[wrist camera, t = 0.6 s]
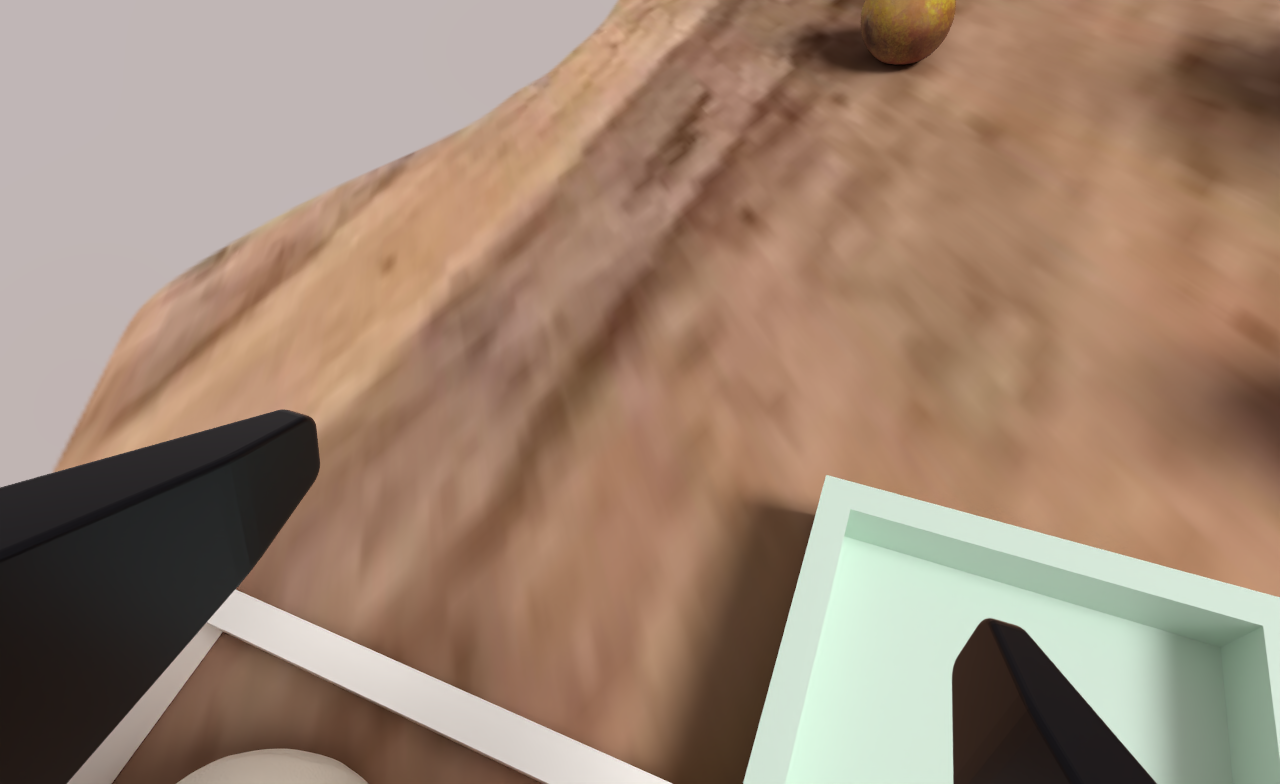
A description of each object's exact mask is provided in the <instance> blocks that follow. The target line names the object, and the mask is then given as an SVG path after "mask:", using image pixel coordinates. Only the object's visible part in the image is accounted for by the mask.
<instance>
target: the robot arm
mask: <svg viewBox="0 0 1280 784" xmlns="http://www.w3.org/2000/svg"><path fill="white" fill-rule="evenodd" d="M319 468H320V458H319V448H318V439H317V430H316V424H315V422H314V420H313V419H312V418H311V417H309V416H307V415H304V414H300V413H297V412H293V411H290V410H278V411H274V412H270V413H267V414H263V415H260V416H256V417H252V418H249V419H245V420H242V421H238V422H234V423H231V424H227V425H224V426H220V427H216V428H213V429H209V430H206V431H202V432H198V433H195V434H191V435H188V436H184V437H180V438H177V439H173V440H170V441H166V442H162V443H159V444H155V445H152V446H148V447H145V448H141V449H137V450H134V451H130V452H127V453H123V454H119V455H116V456H112V457H109V458H105V459H101V460H98V461H94V462H91V463H87V464H83V465H80V466H76V467H73V468H69V469H65V470H62V471H58V472H55V473H51V474H47V475H44V476H40V477H37V478H34V479H30V480H26V481H22V482H19V483H15V484H12V485H8V486H4V487H1V488H0V784H67V783H68V782H69V781H70V780H71V778H72V777H73V776H74V775H75V774H76V773H77V772H78V770H79V769H80V768H81V767H82V766H83V765H84V763H85V762H86V761H87V760H88V759H89V758H90V757H91V755H92V754H93V753H94V752H95V751H96V750H97V748H98V747H99V746H100V745H101V744H102V743H103V742H104V740H105V739H106V738H107V737H108V736H109V735H110V733H111V732H112V731H113V730H114V729H115V728H116V727H117V725H118V724H119V723H120V722H121V721H122V720H123V718H124V717H125V716H126V715H127V714H128V713H129V712H130V710H131V709H132V708H133V707H134V706H135V705H136V703H137V702H138V701H139V700H140V699H141V698H142V697H143V695H144V694H145V693H146V692H147V691H148V690H149V688H150V687H151V686H152V685H153V684H154V683H155V682H156V680H157V679H158V678H159V677H160V676H161V675H162V673H163V672H164V671H165V670H166V669H167V668H168V667H169V665H170V664H171V663H172V662H173V661H174V660H175V658H176V657H177V656H178V655H179V654H180V653H181V652H182V650H183V649H184V648H185V647H186V646H187V645H188V643H189V642H190V641H191V640H192V639H193V638H194V637H195V635H196V634H197V633H198V632H199V631H200V630H201V628H202V627H203V626H204V625H205V624H206V623H207V622H208V620H209V619H210V618H211V617H212V616H213V615H214V613H215V612H216V611H217V610H218V609H219V608H220V607H221V605H222V604H223V603H224V602H225V601H226V600H227V598H228V597H229V596H230V595H231V594H232V593H233V592H234V590H235V589H236V588H237V587H238V586H239V585H240V583H241V582H242V581H243V580H244V579H245V577H246V576H247V575H248V574H249V572H250V571H251V570H252V569H253V567H254V566H255V565H256V563H257V562H258V561H259V559H260V558H261V557H262V555H263V554H264V553H265V551H266V550H267V548H268V547H269V546H270V544H271V543H272V541H273V540H274V538H275V537H276V536H277V534H278V533H279V531H280V530H281V528H282V527H283V526H284V524H285V523H286V521H287V520H288V519H289V517H290V516H291V514H292V513H293V511H294V510H295V509H296V507H297V506H298V504H299V503H300V501H301V500H302V499H303V497H304V496H305V494H306V493H307V492H308V490H309V489H310V487H311V486H312V484H313V483H314V481H315V480H316V478H317V475H318V472H319ZM952 730H953V784H1157V783H1156V782H1155V781H1154V779H1153V778H1152V777H1151V776H1150V775H1149V774H1148V773H1147V771H1146V770H1145V769H1144V768H1143V767H1142V766H1141V764H1140V763H1139V762H1138V761H1137V760H1136V759H1135V757H1134V756H1133V755H1132V754H1131V753H1130V752H1129V750H1128V749H1127V748H1126V747H1125V746H1124V745H1123V743H1122V742H1121V741H1120V740H1119V739H1118V738H1117V736H1116V735H1115V734H1114V733H1113V732H1112V731H1111V730H1110V728H1109V727H1108V726H1107V725H1106V724H1105V723H1104V721H1103V720H1102V719H1101V718H1100V717H1099V716H1098V714H1097V713H1096V712H1095V711H1094V710H1093V709H1092V707H1091V706H1090V705H1089V704H1088V703H1087V702H1086V700H1085V699H1084V698H1083V697H1082V696H1081V695H1080V693H1079V692H1078V691H1077V690H1076V689H1075V688H1074V686H1073V685H1072V684H1071V683H1070V682H1069V681H1068V680H1067V678H1066V677H1065V676H1064V675H1063V674H1062V673H1061V671H1060V670H1059V669H1058V668H1057V667H1056V666H1055V664H1054V663H1053V662H1052V661H1051V660H1050V659H1049V657H1048V656H1047V655H1046V654H1045V653H1044V652H1043V650H1042V649H1041V648H1040V647H1039V646H1038V645H1037V643H1036V642H1035V641H1034V640H1033V639H1032V638H1031V637H1030V635H1029V634H1028V633H1027V632H1026V631H1025V630H1024V629H1022V628H1021V627H1019V626H1017V625H1014V624H1010V623H1007V622H1003V621H1000V620H997V619H993V618H986V619H984V620H982V621H981V622H980V623H979V625H978V626H977V627H976V629H975V630H974V632H973V633H972V635H971V637H970V638H969V640H968V641H967V643H966V644H965V646H964V647H963V649H962V650H961V652H960V653H959V655H958V656H957V658H956V660H955V663H954V666H953V671H952Z"/></svg>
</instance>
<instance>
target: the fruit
mask: <svg viewBox="0 0 1280 784" xmlns="http://www.w3.org/2000/svg"><path fill="white" fill-rule="evenodd" d="M955 7H956V0H865V3H864V6H863V9H862V13H861V33H862V38H863V40H864V43H865V45H866V47H867V48H868V50H869V51H870V53H871V54H872V55H873V56H874V57H876V58H877V59H878V60H880V61H881V62H884V63H888V64H909V63H913V62H917V61H920V60H922V59H924V58H926V57H927V56H929V55H930V54H931V53H932V52H934V51H935V50H936V49H937V48H938V47H939V45H940V44H941V43H942V42H943V40H944V39H945V38H946V36H947V34H948V32H949V30H950V27H951V25H952V22H953V19H954V14H955Z"/></svg>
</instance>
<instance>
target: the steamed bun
mask: <svg viewBox="0 0 1280 784" xmlns="http://www.w3.org/2000/svg"><path fill="white" fill-rule="evenodd" d="M176 784H368V783H367V782H366V781H365V780H364V779H363V778H362V777H361V776H359V775H358V774H357V773H356V772H354V771H353V770H351V769H350V768H348V767H347V766H346V765H344V764H343V763H341V762H339V761H337V760H334V759H333V758H329V757H327V756H323V755H320V754H315V753H311V752H306V751H302V750H296V749H295V750H294V749H286V748H285V749H280V748H279V749H263V750H256V751H250V752H245V753H240V754H234V755H229V756H227V757H224V758H221V759H218V760H216V761H214V762H212V763H210V764H208V765H206V766H204V767H202V768H200V769H198V770H196V771H194V772H193V773H191V774H189V775H188V776H186V777H185V778H184V779H182V780H181V781H179V782H178V783H176Z"/></svg>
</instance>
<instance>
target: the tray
mask: <svg viewBox="0 0 1280 784" xmlns="http://www.w3.org/2000/svg"><path fill="white" fill-rule="evenodd" d="M986 618H993V619H997V620H1000V621H1003V622H1007V623H1010V624H1014V625H1017V626H1019V627H1021V628H1022V629H1024V630H1025V631H1026V632H1027V633H1028V634H1029V635H1030V637H1031V638H1032V639H1033V640H1034V641H1035V642H1036V643H1037V645H1038V646H1039V647H1040V648H1041V649H1042V650H1043V652H1044V653H1045V654H1046V655H1047V656H1048V657H1049V659H1050V660H1051V661H1052V662H1053V663H1054V664H1055V666H1056V667H1057V668H1058V669H1059V670H1060V671H1061V673H1062V674H1063V675H1064V676H1065V677H1066V678H1067V680H1068V681H1069V682H1070V683H1071V684H1072V685H1073V686H1074V688H1075V689H1076V690H1077V691H1078V692H1079V693H1080V695H1081V696H1082V697H1083V698H1084V699H1085V700H1086V702H1087V703H1088V704H1089V705H1090V706H1091V707H1092V709H1093V710H1094V711H1095V712H1096V713H1097V714H1098V716H1099V717H1100V718H1101V719H1102V720H1103V721H1104V723H1105V724H1106V725H1107V726H1108V727H1109V728H1110V730H1111V731H1112V732H1113V733H1114V734H1115V735H1116V736H1117V738H1118V739H1119V740H1120V741H1121V742H1122V743H1123V745H1124V746H1125V747H1126V748H1127V749H1128V750H1129V752H1130V753H1131V754H1132V755H1133V756H1134V757H1135V759H1136V760H1137V761H1138V762H1139V763H1140V764H1141V766H1142V767H1143V768H1144V769H1145V770H1146V771H1147V773H1148V774H1149V775H1150V776H1151V777H1152V778H1153V779H1154V781H1155V782H1156V783H1157V784H1280V597H1276V596H1272V595H1269V594H1265V593H1261V592H1257V591H1254V590H1250V589H1246V588H1243V587H1239V586H1235V585H1232V584H1228V583H1224V582H1220V581H1217V580H1213V579H1209V578H1206V577H1202V576H1198V575H1195V574H1191V573H1187V572H1183V571H1180V570H1176V569H1172V568H1169V567H1165V566H1161V565H1158V564H1154V563H1150V562H1146V561H1143V560H1139V559H1135V558H1132V557H1128V556H1124V555H1121V554H1117V553H1113V552H1109V551H1106V550H1102V549H1098V548H1095V547H1091V546H1087V545H1084V544H1080V543H1076V542H1072V541H1069V540H1065V539H1061V538H1058V537H1054V536H1050V535H1047V534H1043V533H1039V532H1035V531H1032V530H1028V529H1024V528H1021V527H1017V526H1013V525H1010V524H1006V523H1002V522H998V521H995V520H991V519H987V518H984V517H980V516H976V515H973V514H969V513H965V512H961V511H958V510H954V509H950V508H947V507H943V506H939V505H936V504H932V503H928V502H924V501H921V500H917V499H913V498H910V497H906V496H902V495H899V494H895V493H891V492H887V491H884V490H880V489H876V488H873V487H869V486H865V485H862V484H858V483H854V482H850V481H847V480H843V479H839V478H836V477H832V476H828V475H826V478H825V482H824V485H823V489H822V493H821V497H820V500H819V504H818V508H817V511H816V515H815V519H814V522H813V526H812V530H811V534H810V537H809V541H808V545H807V548H806V552H805V556H804V560H803V563H802V567H801V571H800V574H799V578H798V582H797V585H796V589H795V593H794V597H793V600H792V604H791V608H790V611H789V615H788V619H787V622H786V626H785V630H784V634H783V637H782V641H781V645H780V648H779V652H778V656H777V660H776V663H775V667H774V671H773V674H772V678H771V682H770V685H769V689H768V693H767V697H766V700H765V704H764V708H763V711H762V715H761V719H760V723H759V726H758V730H757V734H756V737H755V741H754V745H753V748H752V752H751V756H750V760H749V763H748V767H747V771H746V774H745V778H744V782H743V784H953V730H952V671H953V666H954V663H955V660H956V658H957V656H958V655H959V653H960V652H961V650H962V649H963V647H964V646H965V644H966V643H967V641H968V640H969V638H970V637H971V635H972V633H973V632H974V630H975V629H976V627H977V626H978V625H979V623H980V622H981V621H982V620H984V619H986Z"/></svg>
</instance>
